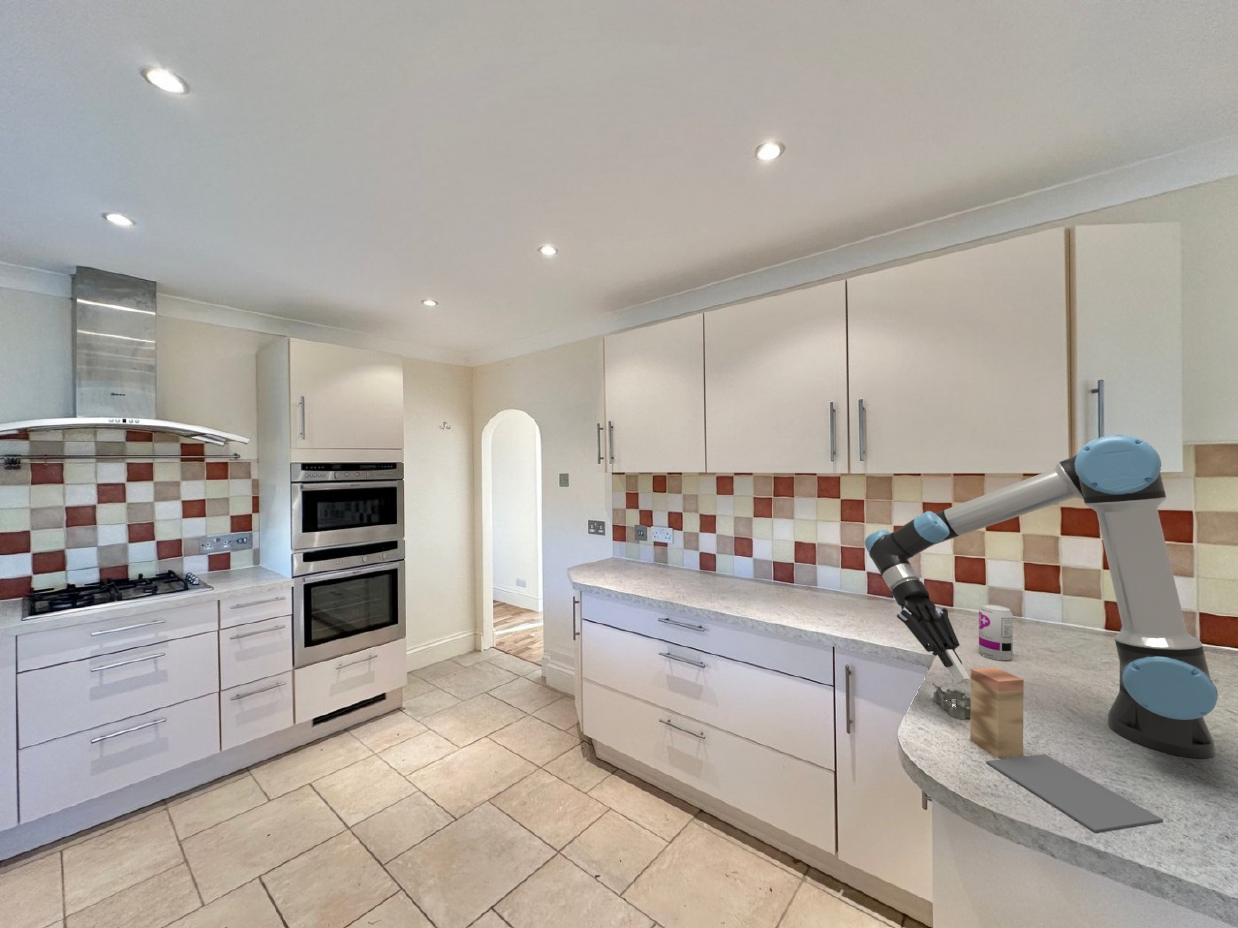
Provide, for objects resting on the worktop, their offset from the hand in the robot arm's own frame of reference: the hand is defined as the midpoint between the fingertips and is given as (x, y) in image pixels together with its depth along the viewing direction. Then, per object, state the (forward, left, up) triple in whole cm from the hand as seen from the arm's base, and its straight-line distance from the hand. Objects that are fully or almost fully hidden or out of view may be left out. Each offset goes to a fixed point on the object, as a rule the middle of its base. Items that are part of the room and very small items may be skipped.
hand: (963, 680), depth 106 cm
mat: (-16, +13, -10) cm, 23 cm away
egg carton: (+2, -10, -11) cm, 15 cm away
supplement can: (-5, -58, -11) cm, 59 cm away
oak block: (-6, +5, -10) cm, 13 cm away
